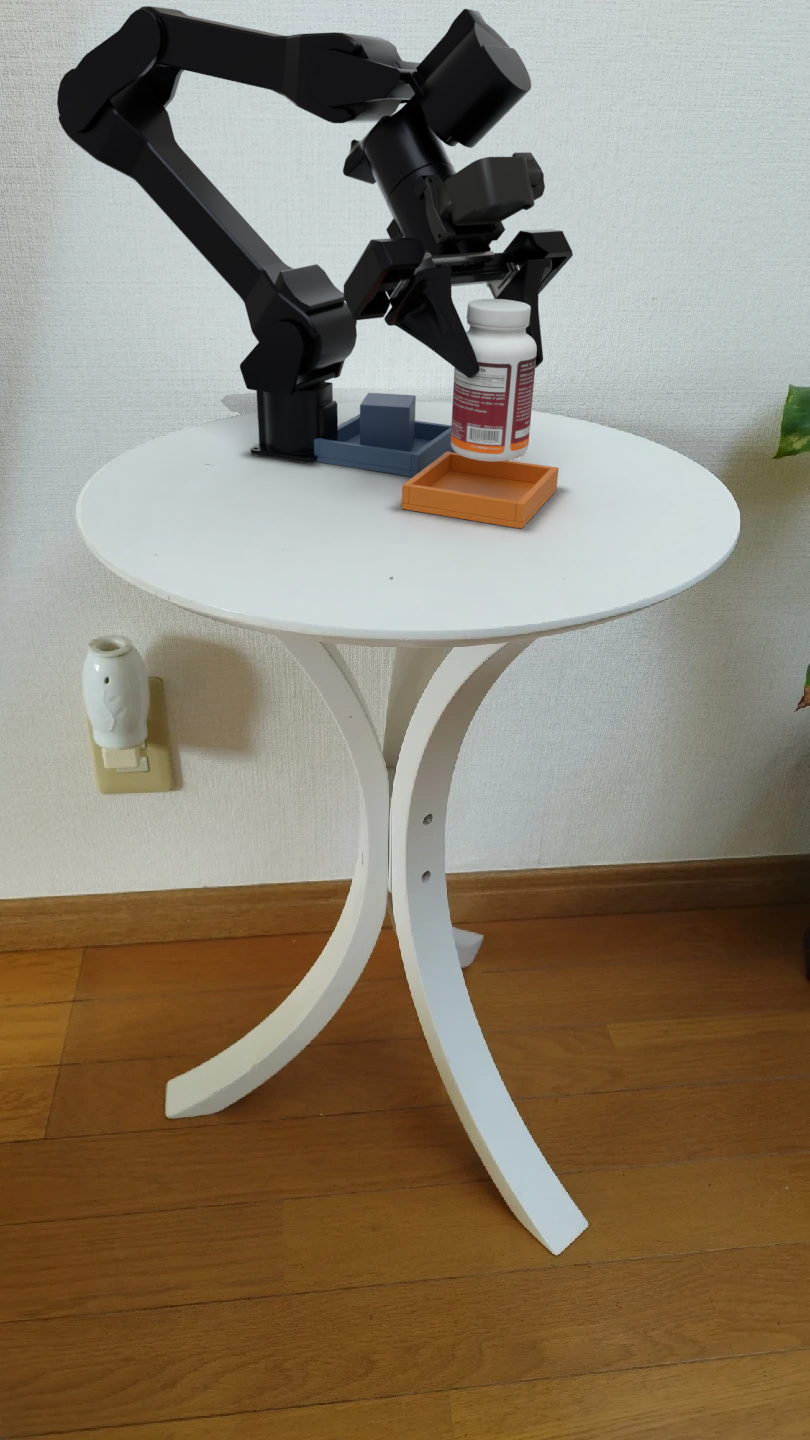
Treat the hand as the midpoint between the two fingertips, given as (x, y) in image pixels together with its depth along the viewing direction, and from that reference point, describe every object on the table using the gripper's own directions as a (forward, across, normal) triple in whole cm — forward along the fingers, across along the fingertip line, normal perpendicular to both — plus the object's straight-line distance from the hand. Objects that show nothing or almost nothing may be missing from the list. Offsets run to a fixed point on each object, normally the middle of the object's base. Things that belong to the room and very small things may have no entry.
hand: (507, 369), depth 76 cm
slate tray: (-4, +2, +20) cm, 21 cm away
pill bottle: (+4, 0, +6) cm, 7 cm away
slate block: (-4, +2, +20) cm, 21 cm away
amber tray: (+6, +1, +10) cm, 12 cm away
